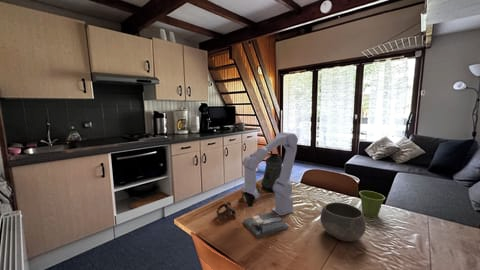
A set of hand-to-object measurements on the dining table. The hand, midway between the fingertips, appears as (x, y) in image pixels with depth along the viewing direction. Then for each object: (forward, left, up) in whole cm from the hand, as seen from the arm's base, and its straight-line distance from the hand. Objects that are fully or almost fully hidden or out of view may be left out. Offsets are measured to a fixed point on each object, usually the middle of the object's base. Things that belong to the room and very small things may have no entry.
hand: (250, 206), depth 104 cm
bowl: (-30, +30, -8) cm, 43 cm away
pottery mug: (+9, -8, -8) cm, 15 cm away
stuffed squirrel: (-12, -21, -8) cm, 25 cm away
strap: (-5, +9, -5) cm, 12 cm away
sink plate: (-4, +8, -7) cm, 11 cm away
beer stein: (-37, -31, -8) cm, 49 cm away
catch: (0, +8, -6) cm, 10 cm away
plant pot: (-61, +24, -8) cm, 66 cm away
